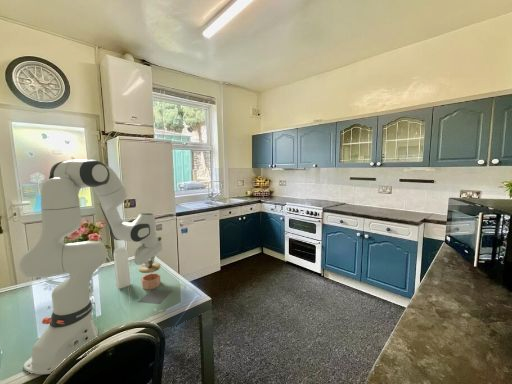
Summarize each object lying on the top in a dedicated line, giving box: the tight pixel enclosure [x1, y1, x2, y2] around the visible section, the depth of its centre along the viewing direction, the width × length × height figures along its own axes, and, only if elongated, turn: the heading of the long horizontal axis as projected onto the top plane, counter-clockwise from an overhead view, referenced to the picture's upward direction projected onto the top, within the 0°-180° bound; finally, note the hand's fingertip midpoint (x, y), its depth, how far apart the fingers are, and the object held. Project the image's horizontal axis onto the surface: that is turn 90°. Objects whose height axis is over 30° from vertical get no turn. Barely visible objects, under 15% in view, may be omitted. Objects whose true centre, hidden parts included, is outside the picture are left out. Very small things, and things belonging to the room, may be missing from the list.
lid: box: [138, 259, 162, 274], centre depth 132 cm, size 11×11×4 cm
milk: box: [113, 246, 131, 290], centre depth 132 cm, size 6×6×22 cm
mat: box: [137, 288, 173, 305], centre depth 122 cm, size 12×12×1 cm
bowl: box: [140, 272, 162, 290], centre depth 133 cm, size 9×9×5 cm
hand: (149, 265), depth 132 cm, fingers closed on lid, 3 cm apart
